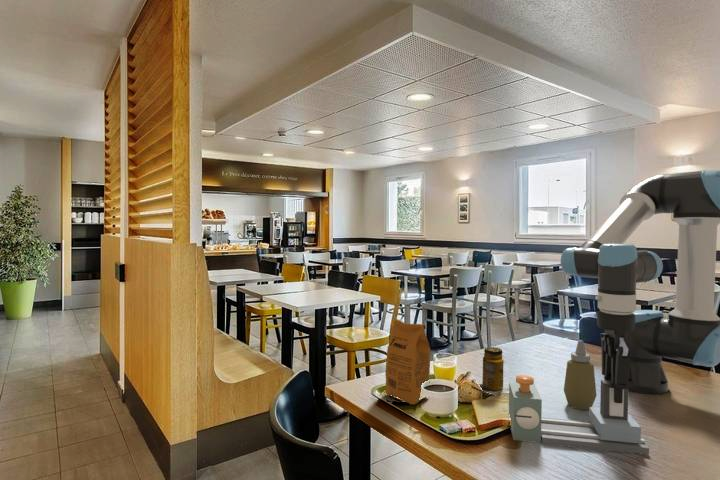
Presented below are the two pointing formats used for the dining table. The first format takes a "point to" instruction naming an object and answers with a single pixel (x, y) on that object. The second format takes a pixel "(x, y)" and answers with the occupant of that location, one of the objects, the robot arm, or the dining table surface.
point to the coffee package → (407, 361)
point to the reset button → (524, 382)
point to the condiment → (493, 371)
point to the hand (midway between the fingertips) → (613, 412)
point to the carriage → (614, 419)
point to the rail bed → (583, 436)
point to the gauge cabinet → (525, 413)
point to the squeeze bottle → (580, 379)
